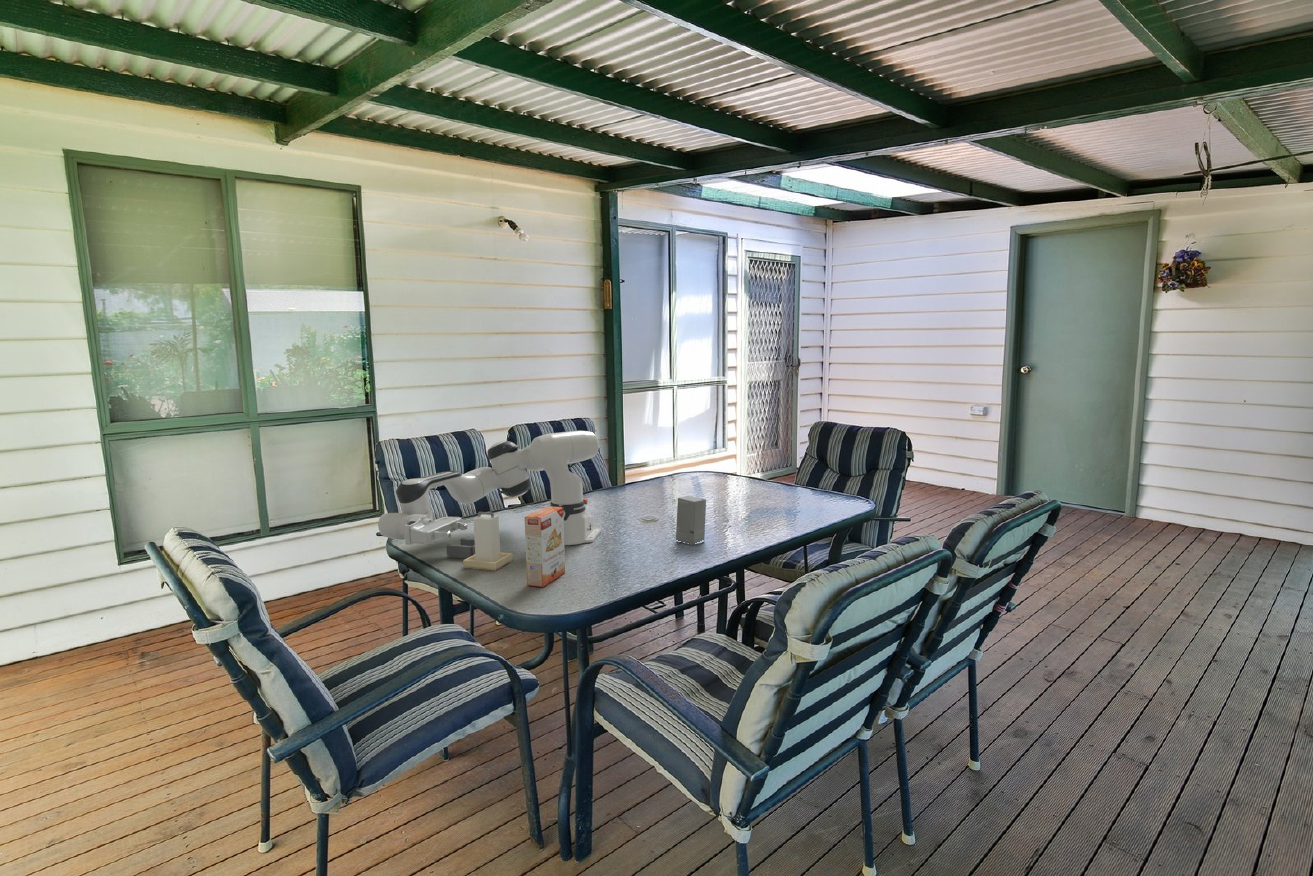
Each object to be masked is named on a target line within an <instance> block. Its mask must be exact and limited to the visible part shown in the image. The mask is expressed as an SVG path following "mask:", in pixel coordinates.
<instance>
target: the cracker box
mask: <svg viewBox="0 0 1313 876" xmlns="http://www.w3.org/2000/svg"><path fill="white" fill-rule="evenodd" d="M524 533H525V535H524V538H525V539H524V540H525V563H526V564H525V566H526V568H525V569H526V585H527V586H532V587H538V588H544V587H546V586H547V585H549V584H550V583H552V582H553V581H555V580H556V579H558V578H560V577H561V576H563V575H564V574H566V563H565V562H566V560H565V559H566V557H565V556H566V555H565V554H566V553H565V552H566V551H565V545H564V508H562V507H550V506H549V505H548V506H546V507H543V508H541V509H538V510H536V511H534V512H532V513H530V514H528V515H525V516H524Z"/></svg>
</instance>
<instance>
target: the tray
mask: <svg viewBox="0 0 1313 876" xmlns="http://www.w3.org/2000/svg"><path fill="white" fill-rule="evenodd" d="M500 557H501V559H500V560H498V561H496V562H485V561H476V556H475V555H473V556H471V557H469V558H467V559H465V558H464V559H463V560H462V561H463V568H464V569H469V568H473V569H472V570H479V569H481V570H480V571H490V570H491V571H492V572H497V571H498V570H500V569H503V566H504V567H506V566H507V565H509V564H510V563H512V562H514V555H513V553H511V552H502V551H500ZM508 563H509V564H508ZM506 564H507V565H506ZM499 568H500V569H499ZM496 570H497V571H496Z"/></svg>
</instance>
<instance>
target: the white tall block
mask: <svg viewBox="0 0 1313 876" xmlns="http://www.w3.org/2000/svg"><path fill="white" fill-rule="evenodd" d="M472 519H473V532H474V533H473V537H474V538H473V539H475V556H476V561H485V562H496V561H498V560H500V559H501V557H500V552H501V541H500V524H499V523H500V522H499V515H494V512H489V511H488V512H487V511H485V512H484V511H478V512H477V516H476V517H473V518H472Z"/></svg>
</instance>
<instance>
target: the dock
mask: <svg viewBox="0 0 1313 876" xmlns="http://www.w3.org/2000/svg"><path fill="white" fill-rule="evenodd" d="M459 542H460V543H459V544H451V543H450V544H449V543H448V544H446V555H447V556H450V557H449V558H455V557H460V558H459V559H465V558H466V559H467V558H469V557H471V556H473V555H475V538H469V537H468V538H467V537H462V538H460V539H459Z"/></svg>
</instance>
